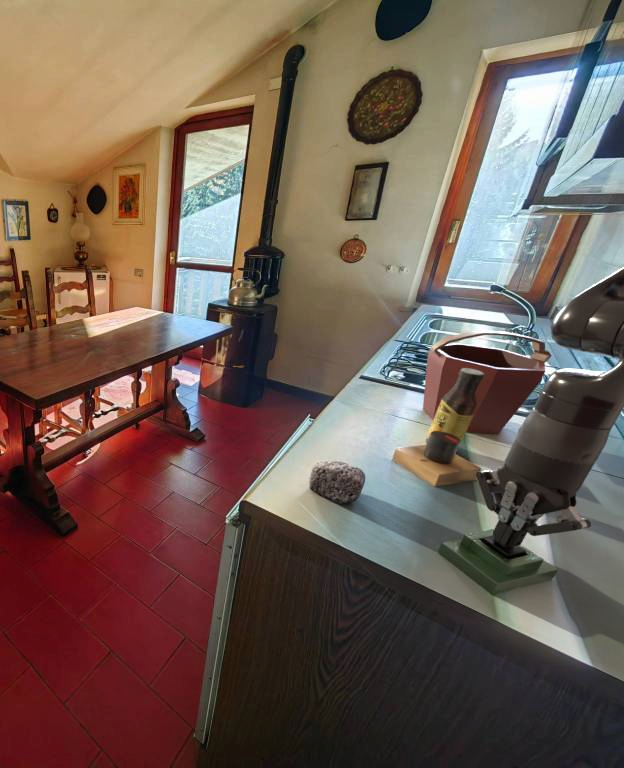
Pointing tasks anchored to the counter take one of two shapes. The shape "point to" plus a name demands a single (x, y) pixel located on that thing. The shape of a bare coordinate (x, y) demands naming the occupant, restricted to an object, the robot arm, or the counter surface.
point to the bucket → (500, 382)
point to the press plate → (505, 552)
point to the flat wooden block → (435, 467)
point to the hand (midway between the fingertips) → (503, 543)
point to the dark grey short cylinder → (441, 447)
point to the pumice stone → (337, 481)
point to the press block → (495, 564)
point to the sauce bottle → (458, 405)
